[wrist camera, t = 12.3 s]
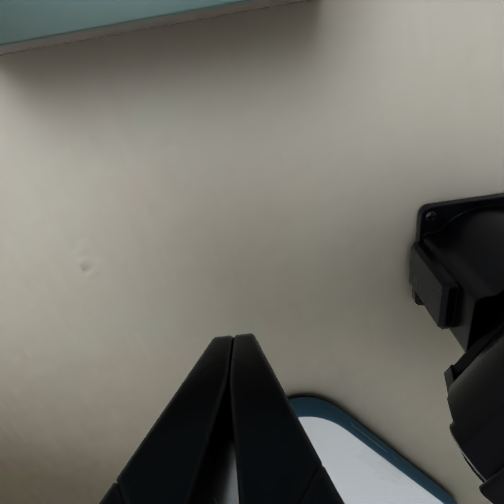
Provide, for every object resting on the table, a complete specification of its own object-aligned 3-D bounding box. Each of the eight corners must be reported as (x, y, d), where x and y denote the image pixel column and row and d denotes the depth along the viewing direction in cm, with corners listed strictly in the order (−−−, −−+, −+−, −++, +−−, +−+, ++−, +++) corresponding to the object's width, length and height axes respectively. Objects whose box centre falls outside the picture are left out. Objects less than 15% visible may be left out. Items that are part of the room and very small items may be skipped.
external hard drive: (197, 446, 31) (194, 471, 29) (309, 377, 27) (313, 401, 25) (366, 545, 40) (371, 568, 38) (468, 503, 36) (479, 527, 34)
